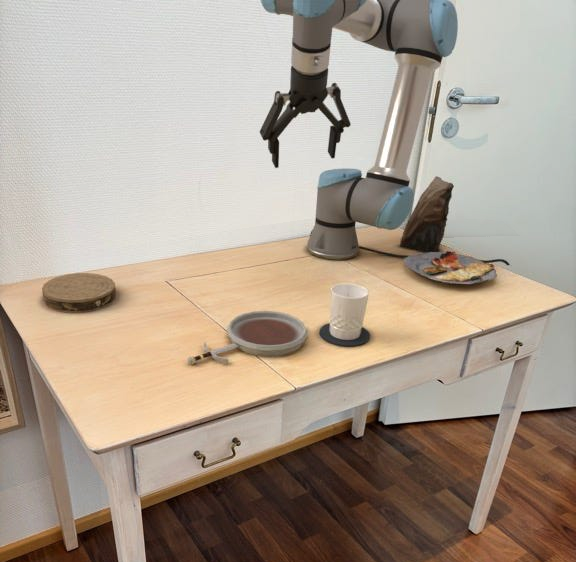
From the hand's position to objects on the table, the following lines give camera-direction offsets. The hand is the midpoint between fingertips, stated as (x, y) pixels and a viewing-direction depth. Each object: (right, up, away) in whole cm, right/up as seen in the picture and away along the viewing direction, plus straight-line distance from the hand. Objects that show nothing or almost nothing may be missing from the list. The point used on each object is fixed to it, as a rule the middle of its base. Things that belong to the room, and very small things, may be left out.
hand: (303, 159), depth 133 cm
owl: (+37, -9, +46) cm, 60 cm away
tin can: (-52, -32, +1) cm, 61 cm away
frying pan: (-12, -44, -13) cm, 47 cm away
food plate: (+41, -21, +28) cm, 54 cm away
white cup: (+9, -41, -7) cm, 42 cm away
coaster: (+9, -41, -7) cm, 42 cm away
